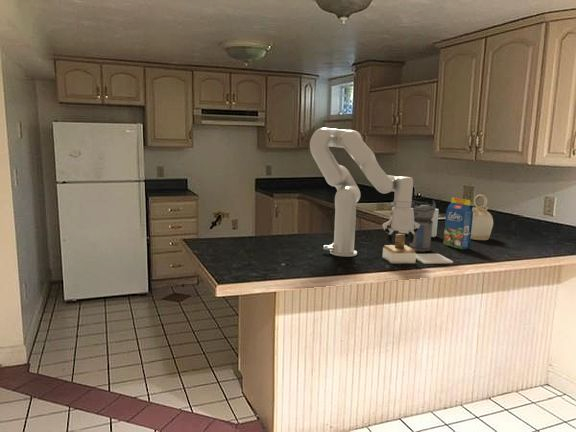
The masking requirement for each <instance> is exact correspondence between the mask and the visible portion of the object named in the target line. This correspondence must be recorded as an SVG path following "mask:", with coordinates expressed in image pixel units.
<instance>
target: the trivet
mask: <svg viewBox="0 0 576 432" xmlns="http://www.w3.org/2000/svg"><path fill="white" fill-rule="evenodd" d="M416 260H417V261H418V262H420V263H422V264H424V265H425V264H427V265H428V264H431V265H432V264H433V265H434V264H454V260H451V259H450V258H447V257H445V256H443V255H442V254H440V253H416Z"/></svg>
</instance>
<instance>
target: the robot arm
mask: <svg viewBox="0 0 576 432" xmlns="http://www.w3.org/2000/svg"><path fill="white" fill-rule="evenodd" d="M330 147H332V148H334V147H335V148H343V149H344V150H345V151H346V152H347V154H348V155H349V156H350V158H352V160H353V161H354V162H355V163H356V164H357V166H358V167H359V168H360V170H361V171H362V173H363V175H364V176H365V177H366V179H367V180H368V181H369V183H370V184H371V185H372V186H373V187H374V189H375V190H376V191H378V193H381V194H388V193H390V192H394V196H393V197H394V199H393V201H391V202H390V205H391V206H392V208H391V211H390V216H389V220H388V221H386V222H384V223H383V224H381V225H382V228H383V230H384V231H385V233H386V234H387V236H386V237H387V238H386V239H387V240H386V241H387V243H389V244H393V232H394V231H395V232H397V231H409V232H410V233H409V236H408V235H407V236H408V237H407V238H408V240H407V242H408V243H409V244H410V243H412V242H413V238H414V234H415V232H416V231H417V230H418V228H419V226H420V224H418V223H417V222H415V221H414V211H413V208H411V205H412V200H413V187H414V179H413V177H410V176H395V175H389V174H387V173H386V172H385V171H384V170H383V169H382V167H381V165H380V164H379V163H378V161H377V158H376V155H375V152H374V151H372V149H370V147H369V146H368V145H367V143H365V141H364V140H363V137H362V135H361V133H360V132H359V131H358V130H357V131H356V130H355V129H354V130H353V129H338V128H330V127H320V128H318V129H317V130H315V131H314V132H313V134H312V136H311V138H310V141H309V150H310V153H311V155H312V158H313V159H314V162H315V163H316V165H317V166H318V169H319V170H320V172H321V173H322V176H323V177H324V179H325V181H326V183H327V184H328V185H329V186H331V187H335V189H336V192H335V195H334V208H335V209H334V231H333V232H334V233H333V236H334V237H333V242H332V243H331V244H329V245H328V244H324V245H323V250H327V251H329V254H331V255H333V256H335V257H336V256H337V257H345V258H346V257H348V258H351V257H356V256H357V255H358V251H357V250H355V237H356V236H355V235H356V220H357V217H356V215H357V203H358V202H359V200H360V199H361V196H362V195H361V191H360V188H359V186H358V185H357V183H356V181H355V180H354V177H353V176H352V175H351V173H350V171H349V169H348V168H346V166H344V165H341V164H339V163H338V161H337V160H336V158H335V156H334V154H333V153H332V151H331V150H330ZM414 225H415V228H414ZM387 226H389V228H388V227H387Z"/></svg>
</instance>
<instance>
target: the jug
mask: <svg viewBox="0 0 576 432" xmlns="http://www.w3.org/2000/svg"><path fill="white" fill-rule="evenodd" d="M479 198H482V199H483V204H482V205H479V203H478V200H479ZM473 205H474V207H471V209H472V211H473V220H472V230H471V240H475V241H476V240H477V241H488V240H489V239H490V237H491V233H492V231H493V228H494V218H493V215H492V214H491V213H490V212H489V211H488V210H489V207H488V206H487V205H488V198H487V196H486V195H484V194H477V195H476V196H475V197H474V199H473Z"/></svg>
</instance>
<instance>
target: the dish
mask: <svg viewBox="0 0 576 432" xmlns="http://www.w3.org/2000/svg"><path fill="white" fill-rule="evenodd" d="M416 254H417V252H415V253H392V252H390V251H388V250H387V249H385V248H384V247H383V248H382V258H383V259H384V260H386V261H388V262H389V263H390V264H416V260H417V259H416Z"/></svg>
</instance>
